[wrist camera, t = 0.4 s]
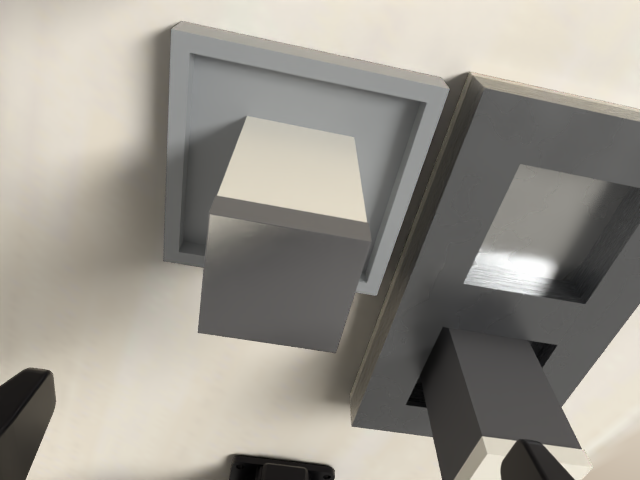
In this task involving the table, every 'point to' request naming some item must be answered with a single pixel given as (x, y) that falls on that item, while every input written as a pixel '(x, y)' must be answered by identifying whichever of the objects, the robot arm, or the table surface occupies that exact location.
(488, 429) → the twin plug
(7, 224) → the table surface
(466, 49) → the table surface
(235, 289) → the plug
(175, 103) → the tray
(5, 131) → the table surface
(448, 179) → the board
